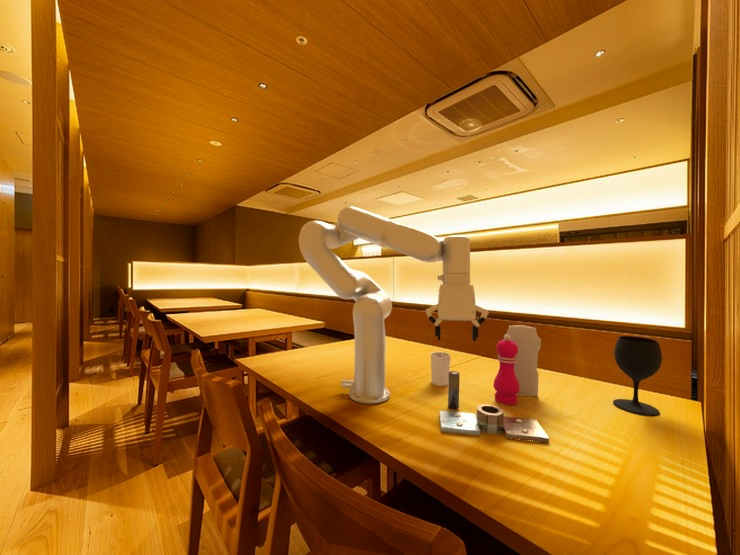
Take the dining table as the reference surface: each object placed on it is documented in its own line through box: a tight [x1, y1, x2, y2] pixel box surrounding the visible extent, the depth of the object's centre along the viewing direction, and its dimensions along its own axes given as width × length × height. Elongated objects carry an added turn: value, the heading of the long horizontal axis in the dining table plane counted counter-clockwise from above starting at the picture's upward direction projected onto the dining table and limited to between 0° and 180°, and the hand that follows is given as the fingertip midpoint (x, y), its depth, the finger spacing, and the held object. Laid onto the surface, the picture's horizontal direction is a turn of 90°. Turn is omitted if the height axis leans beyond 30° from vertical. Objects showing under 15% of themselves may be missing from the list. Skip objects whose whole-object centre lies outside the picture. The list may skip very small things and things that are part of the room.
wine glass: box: [612, 335, 663, 417], centre depth 90 cm, size 10×10×20 cm
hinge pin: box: [447, 370, 460, 410], centre depth 89 cm, size 3×3×10 cm
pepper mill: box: [493, 334, 520, 406], centre depth 94 cm, size 7×7×20 cm
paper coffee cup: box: [430, 351, 451, 387], centre depth 108 cm, size 7×7×10 cm
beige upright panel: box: [503, 324, 542, 398], centre depth 99 cm, size 11×4×22 cm, turn 62°
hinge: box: [439, 403, 550, 444], centre depth 78 cm, size 24×9×5 cm, turn 79°
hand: (456, 339), depth 88 cm, fingers open, 9 cm apart
